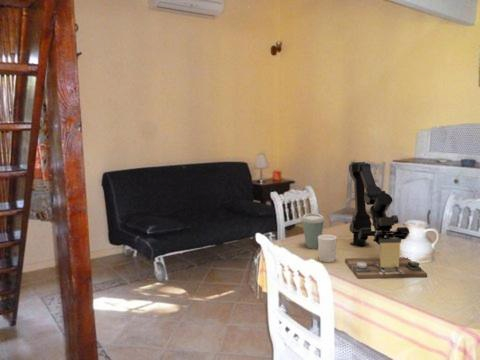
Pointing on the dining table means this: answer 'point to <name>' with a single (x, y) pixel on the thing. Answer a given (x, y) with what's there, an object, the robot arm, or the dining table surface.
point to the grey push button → (362, 265)
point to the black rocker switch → (413, 263)
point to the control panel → (377, 272)
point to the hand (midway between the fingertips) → (388, 253)
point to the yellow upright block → (389, 253)
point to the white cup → (327, 247)
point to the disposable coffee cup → (312, 228)
